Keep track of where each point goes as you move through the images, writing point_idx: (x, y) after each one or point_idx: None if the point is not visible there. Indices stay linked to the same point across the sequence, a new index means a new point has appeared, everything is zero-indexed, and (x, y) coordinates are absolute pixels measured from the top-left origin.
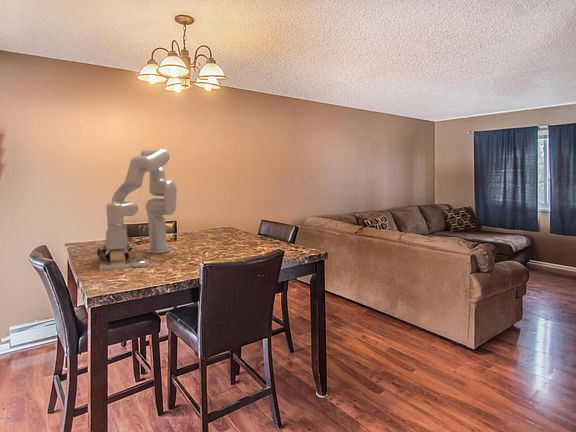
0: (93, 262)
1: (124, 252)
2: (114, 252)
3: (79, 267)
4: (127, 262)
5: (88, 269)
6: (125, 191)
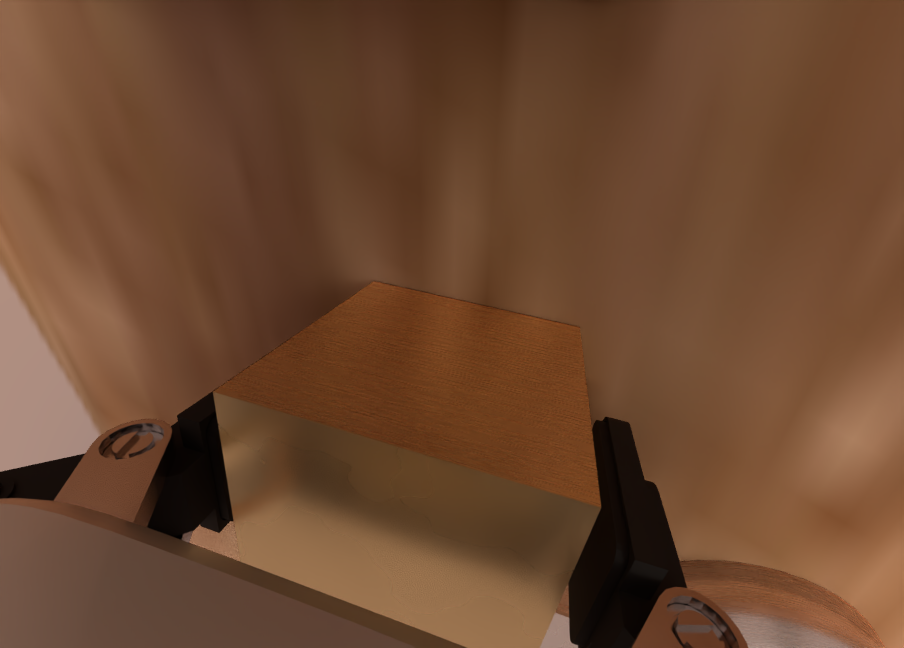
0: (76, 85)
1: (588, 476)
2: (309, 548)
3: (48, 322)
4: (565, 644)
5: None
6: None
